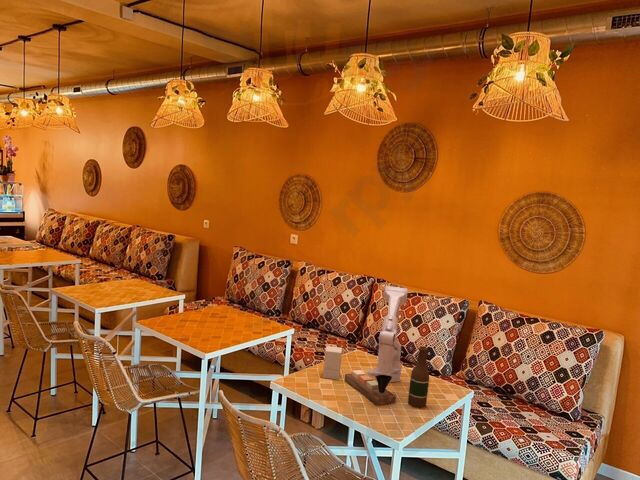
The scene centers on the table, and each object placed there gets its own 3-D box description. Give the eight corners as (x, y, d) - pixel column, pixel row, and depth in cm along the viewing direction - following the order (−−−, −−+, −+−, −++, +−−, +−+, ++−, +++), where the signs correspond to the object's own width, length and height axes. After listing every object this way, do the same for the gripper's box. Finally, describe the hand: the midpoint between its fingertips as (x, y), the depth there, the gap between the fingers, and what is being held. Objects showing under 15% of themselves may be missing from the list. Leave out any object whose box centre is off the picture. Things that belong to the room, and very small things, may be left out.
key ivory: (360, 375, 216) (360, 370, 216) (365, 379, 212) (365, 373, 212) (351, 376, 214) (352, 370, 214) (356, 379, 210) (357, 374, 210)
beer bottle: (422, 410, 192) (429, 352, 190) (404, 404, 196) (411, 347, 194) (428, 404, 199) (436, 347, 196) (411, 398, 203) (417, 343, 200)
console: (361, 378, 219) (362, 372, 219) (395, 403, 196) (396, 396, 196) (344, 380, 215) (345, 374, 215) (376, 406, 192) (377, 398, 192)
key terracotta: (367, 380, 211) (367, 375, 211) (372, 384, 207) (373, 379, 207) (358, 381, 209) (359, 375, 209) (364, 385, 205) (364, 379, 205)
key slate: (382, 394, 201) (382, 389, 200) (388, 399, 197) (389, 393, 196) (373, 395, 199) (374, 390, 198) (379, 400, 195) (380, 394, 194)
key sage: (374, 385, 206) (375, 380, 206) (380, 390, 202) (381, 384, 202) (366, 386, 204) (366, 381, 204) (371, 391, 200) (372, 385, 200)
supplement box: (339, 374, 222) (342, 347, 221) (338, 380, 215) (341, 352, 214) (323, 372, 223) (326, 345, 222) (322, 378, 216) (325, 350, 214)
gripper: (375, 364, 189) (371, 398, 191) (405, 362, 196) (401, 394, 197) (366, 358, 195) (362, 390, 197) (395, 356, 202) (391, 387, 203)
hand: (381, 392), depth 197 cm, fingers closed, pressing on key slate
